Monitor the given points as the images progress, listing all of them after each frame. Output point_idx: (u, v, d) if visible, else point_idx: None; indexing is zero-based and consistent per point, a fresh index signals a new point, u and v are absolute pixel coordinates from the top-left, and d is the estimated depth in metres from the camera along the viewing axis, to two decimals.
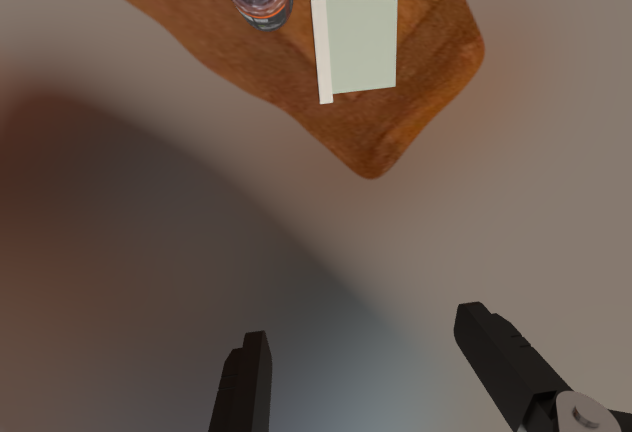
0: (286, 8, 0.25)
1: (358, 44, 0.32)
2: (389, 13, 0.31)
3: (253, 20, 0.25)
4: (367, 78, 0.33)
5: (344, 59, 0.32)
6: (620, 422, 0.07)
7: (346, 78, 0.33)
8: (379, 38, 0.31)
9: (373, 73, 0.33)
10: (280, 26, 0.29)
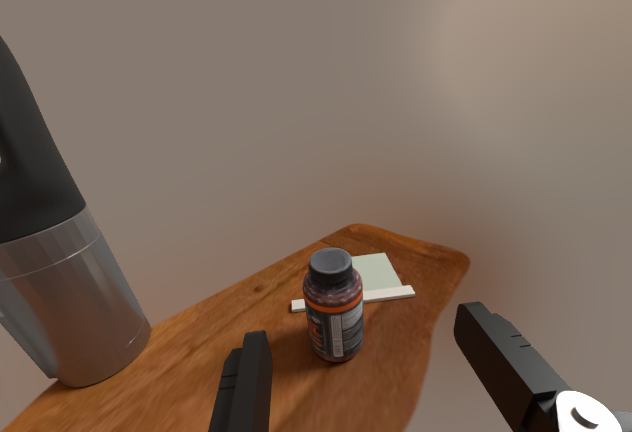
0: None
1: (360, 274, 0.39)
2: None
3: (362, 307, 0.27)
4: (383, 267, 0.40)
5: (373, 281, 0.38)
6: (620, 422, 0.07)
7: (387, 278, 0.38)
8: (354, 264, 0.41)
9: (379, 264, 0.41)
10: None
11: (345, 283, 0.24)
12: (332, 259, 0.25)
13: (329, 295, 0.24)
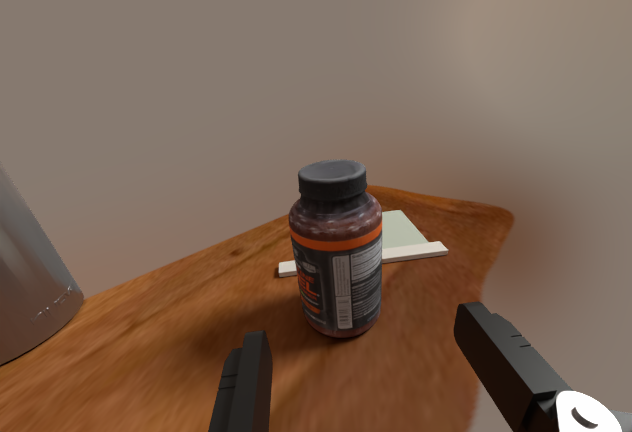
0: None
1: None
2: None
3: (381, 251, 0.17)
4: (400, 224, 0.31)
5: (388, 239, 0.28)
6: (620, 422, 0.07)
7: (407, 235, 0.28)
8: None
9: (394, 221, 0.31)
10: None
11: (356, 203, 0.15)
12: (335, 168, 0.16)
13: (329, 221, 0.15)
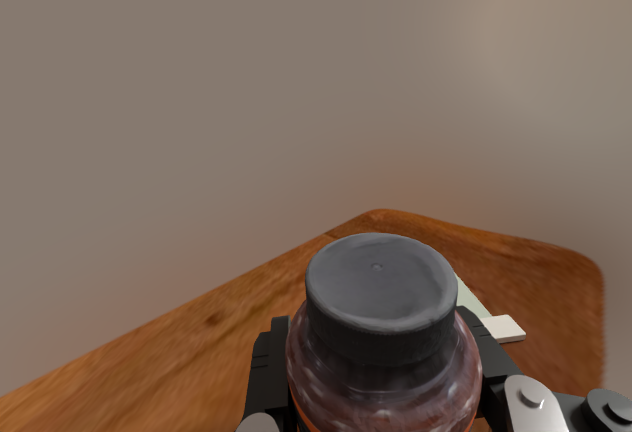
0: None
1: None
2: None
3: None
4: None
5: None
6: (563, 403, 0.08)
7: None
8: None
9: None
10: None
11: (440, 358, 0.07)
12: (387, 271, 0.07)
13: (380, 410, 0.06)
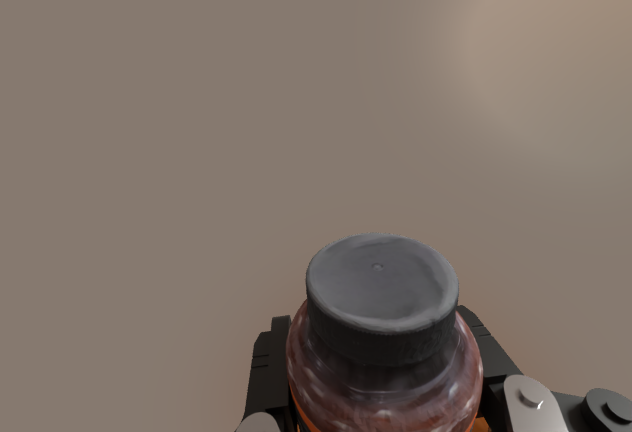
0: None
1: None
2: None
3: None
4: None
5: None
6: (563, 403, 0.08)
7: None
8: None
9: None
10: None
11: (440, 358, 0.07)
12: (388, 271, 0.07)
13: (381, 411, 0.06)
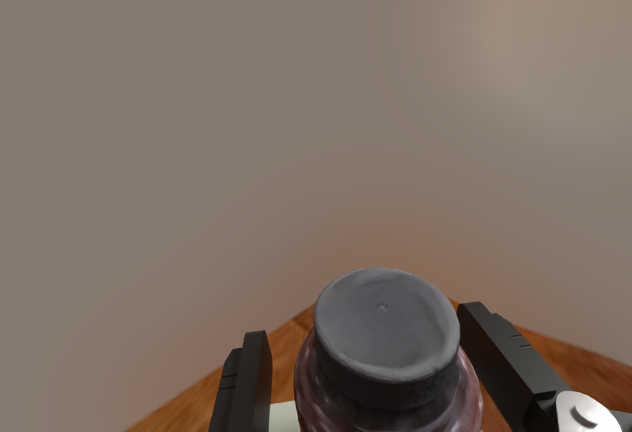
0: None
1: None
2: None
3: None
4: None
5: None
6: (620, 422, 0.07)
7: None
8: None
9: None
10: None
11: (443, 398, 0.07)
12: (392, 313, 0.07)
13: None
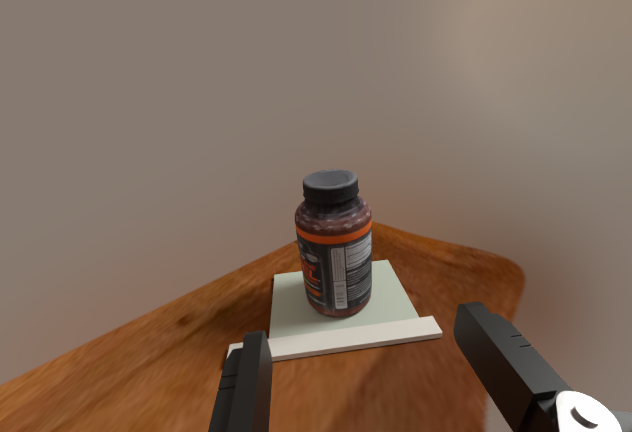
0: None
1: None
2: None
3: (371, 244, 0.21)
4: (386, 283, 0.25)
5: (369, 308, 0.23)
6: (620, 422, 0.07)
7: (393, 303, 0.23)
8: None
9: (379, 278, 0.26)
10: None
11: (350, 205, 0.19)
12: (333, 177, 0.19)
13: (328, 220, 0.18)
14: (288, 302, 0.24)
